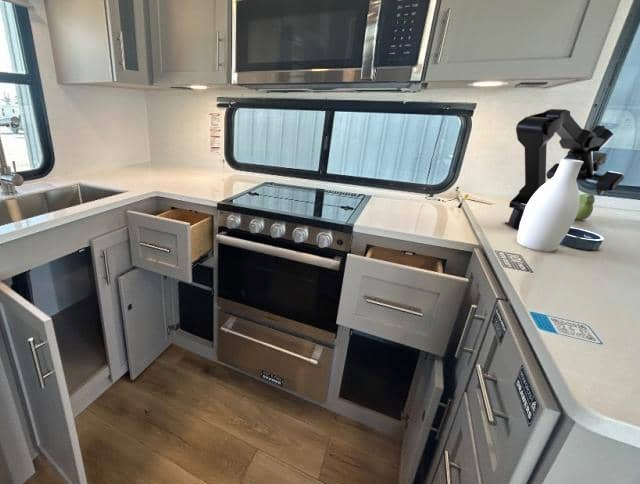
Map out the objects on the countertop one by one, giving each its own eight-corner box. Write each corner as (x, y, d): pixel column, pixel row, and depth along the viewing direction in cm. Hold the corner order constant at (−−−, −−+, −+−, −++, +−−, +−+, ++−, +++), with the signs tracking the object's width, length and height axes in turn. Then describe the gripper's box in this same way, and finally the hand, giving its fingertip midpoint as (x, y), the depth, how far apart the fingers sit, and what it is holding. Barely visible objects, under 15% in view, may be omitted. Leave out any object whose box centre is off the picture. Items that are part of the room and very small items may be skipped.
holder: (565, 248, 98) (571, 237, 96) (540, 234, 108) (545, 224, 106) (608, 253, 96) (614, 242, 95) (579, 238, 106) (584, 228, 105)
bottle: (508, 235, 106) (540, 155, 96) (553, 243, 101) (591, 160, 91) (516, 247, 96) (552, 160, 86) (565, 257, 92) (609, 166, 82)
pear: (590, 222, 122) (603, 196, 119) (575, 220, 123) (587, 195, 119) (579, 217, 128) (591, 192, 124) (564, 216, 128) (575, 191, 124)
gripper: (636, 148, 103) (635, 181, 111) (564, 140, 119) (569, 169, 127) (610, 174, 103) (612, 205, 112) (542, 163, 119) (548, 190, 128)
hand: (584, 191), depth 119 cm, fingers open, 9 cm apart
